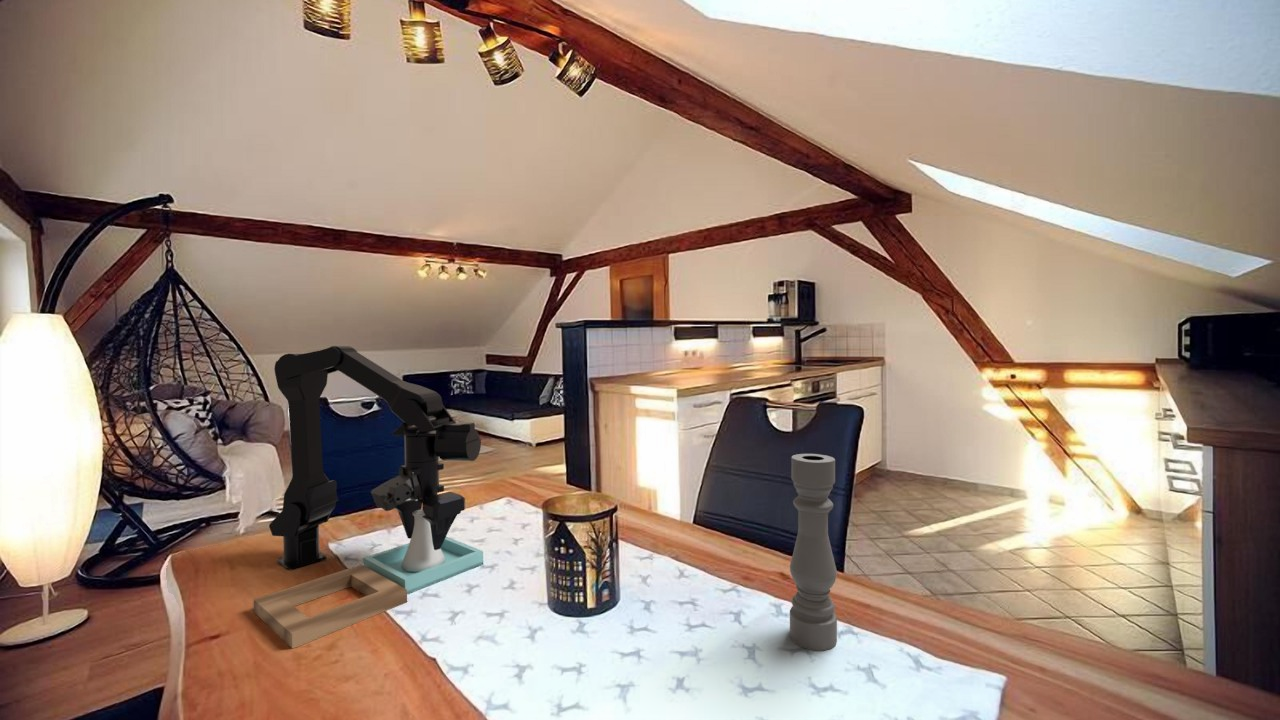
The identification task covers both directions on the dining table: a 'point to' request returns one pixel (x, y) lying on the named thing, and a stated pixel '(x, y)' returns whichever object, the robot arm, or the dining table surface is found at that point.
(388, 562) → the teal tray
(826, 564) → the candle holder
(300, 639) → the frame
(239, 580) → the dining table surface
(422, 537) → the flask
